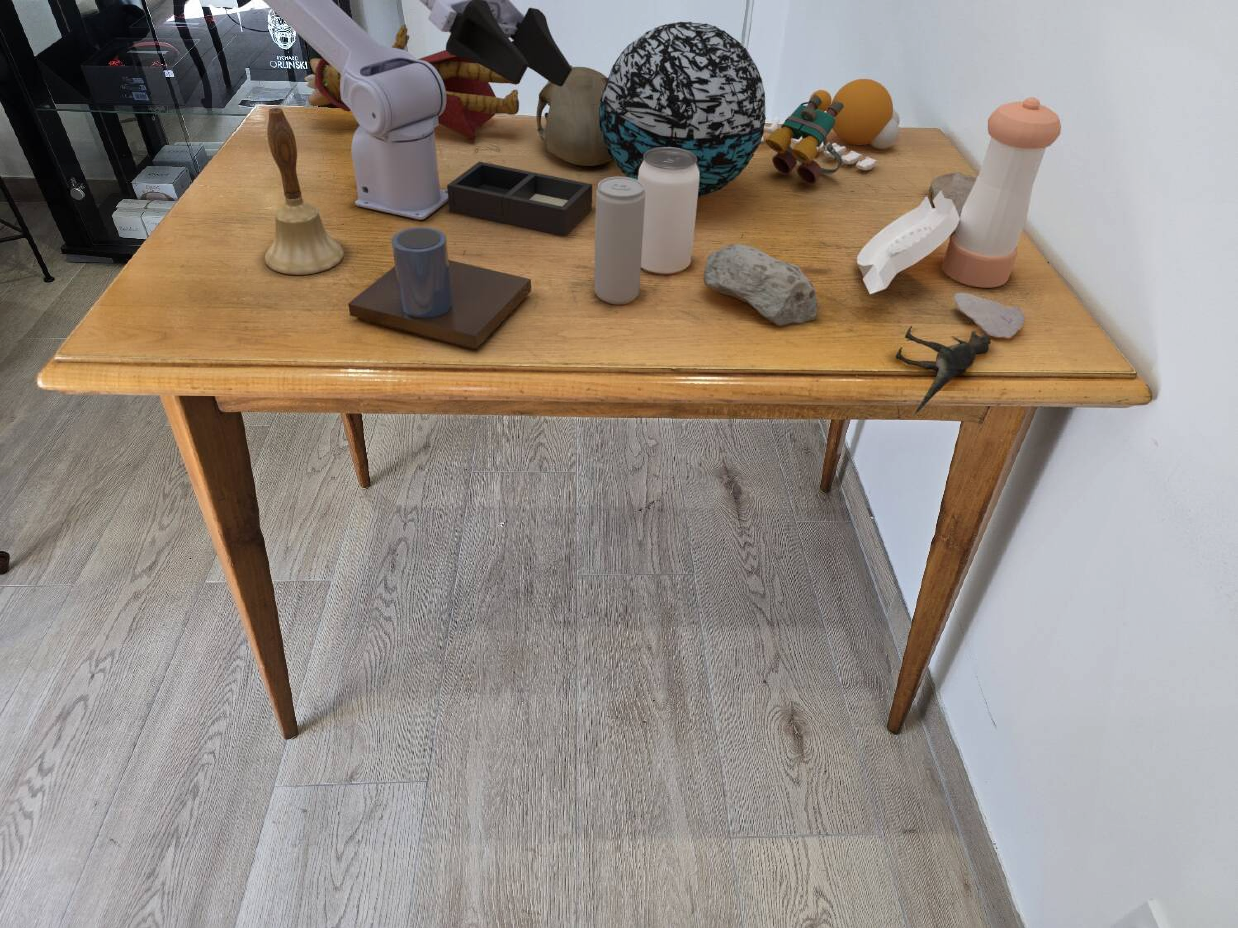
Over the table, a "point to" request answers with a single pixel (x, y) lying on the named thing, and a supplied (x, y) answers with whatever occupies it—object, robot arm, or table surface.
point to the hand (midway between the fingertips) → (544, 76)
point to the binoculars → (805, 140)
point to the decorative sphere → (685, 101)
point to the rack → (520, 198)
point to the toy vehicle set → (846, 156)
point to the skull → (574, 118)
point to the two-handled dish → (906, 241)
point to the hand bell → (296, 213)
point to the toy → (863, 114)
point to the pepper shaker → (1001, 194)
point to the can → (668, 209)
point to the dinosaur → (948, 359)
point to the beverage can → (618, 239)
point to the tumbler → (422, 271)
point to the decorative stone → (762, 283)
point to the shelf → (469, 320)
